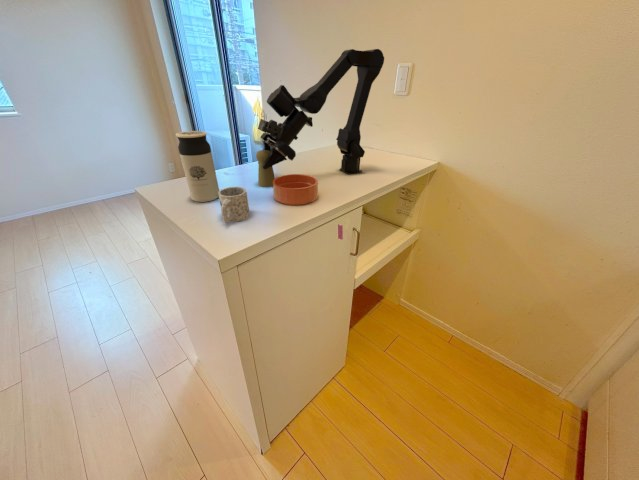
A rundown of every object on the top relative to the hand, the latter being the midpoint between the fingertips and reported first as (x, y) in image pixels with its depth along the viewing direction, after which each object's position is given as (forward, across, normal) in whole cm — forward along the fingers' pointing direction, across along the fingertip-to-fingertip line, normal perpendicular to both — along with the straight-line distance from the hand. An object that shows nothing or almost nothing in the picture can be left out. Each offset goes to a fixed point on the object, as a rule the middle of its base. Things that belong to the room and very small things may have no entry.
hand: (261, 166), depth 84 cm
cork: (+4, 0, +6) cm, 7 cm away
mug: (+14, +22, -6) cm, 26 cm away
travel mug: (+18, +4, -9) cm, 20 cm away
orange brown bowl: (0, +15, +8) cm, 17 cm away
